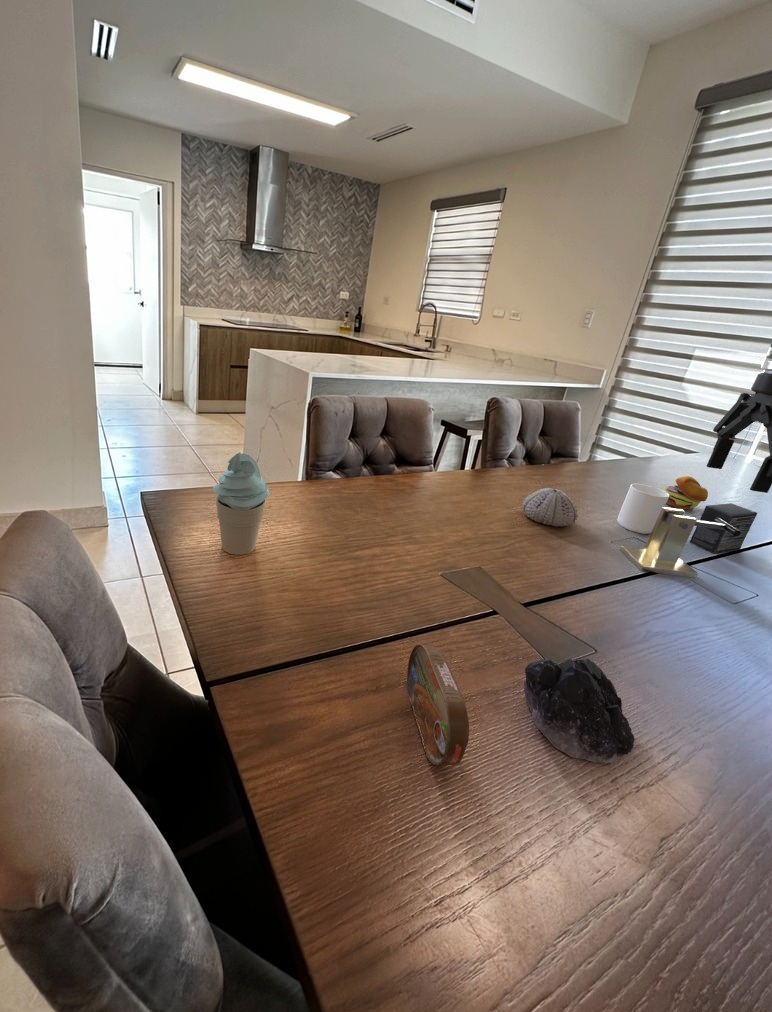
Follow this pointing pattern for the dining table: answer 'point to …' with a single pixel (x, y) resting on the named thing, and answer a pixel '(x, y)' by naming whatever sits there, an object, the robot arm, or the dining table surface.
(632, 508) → the mug
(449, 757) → the tin
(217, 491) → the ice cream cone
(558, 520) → the sea urchin shell
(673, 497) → the cheeseburger
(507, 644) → the dining table surface
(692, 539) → the small box
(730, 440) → the robot arm
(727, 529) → the lever
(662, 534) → the bracket
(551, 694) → the crystal cluster
